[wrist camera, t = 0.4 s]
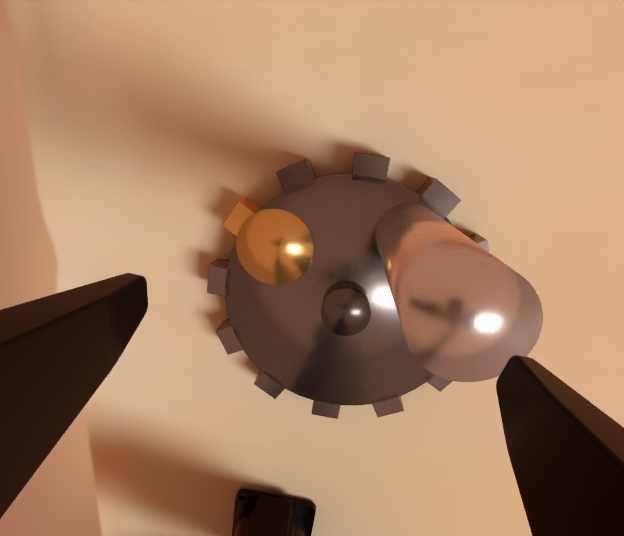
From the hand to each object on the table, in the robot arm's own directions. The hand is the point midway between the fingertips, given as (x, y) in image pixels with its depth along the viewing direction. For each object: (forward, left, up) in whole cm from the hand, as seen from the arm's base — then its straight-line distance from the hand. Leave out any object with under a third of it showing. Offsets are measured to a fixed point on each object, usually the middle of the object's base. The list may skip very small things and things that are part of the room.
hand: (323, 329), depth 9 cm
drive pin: (0, -4, -12) cm, 13 cm away
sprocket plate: (-5, -1, -14) cm, 15 cm away
